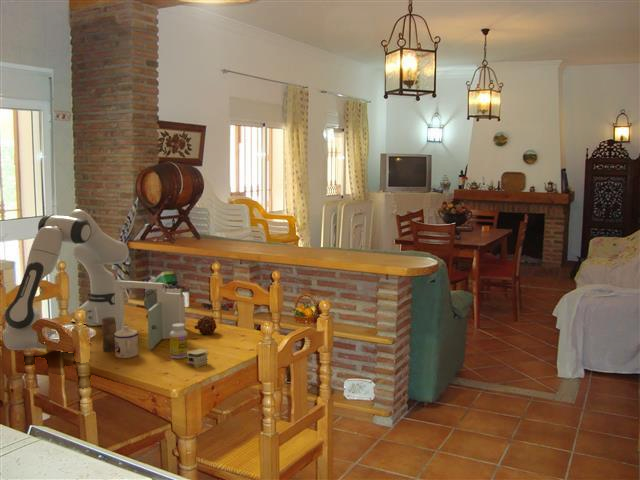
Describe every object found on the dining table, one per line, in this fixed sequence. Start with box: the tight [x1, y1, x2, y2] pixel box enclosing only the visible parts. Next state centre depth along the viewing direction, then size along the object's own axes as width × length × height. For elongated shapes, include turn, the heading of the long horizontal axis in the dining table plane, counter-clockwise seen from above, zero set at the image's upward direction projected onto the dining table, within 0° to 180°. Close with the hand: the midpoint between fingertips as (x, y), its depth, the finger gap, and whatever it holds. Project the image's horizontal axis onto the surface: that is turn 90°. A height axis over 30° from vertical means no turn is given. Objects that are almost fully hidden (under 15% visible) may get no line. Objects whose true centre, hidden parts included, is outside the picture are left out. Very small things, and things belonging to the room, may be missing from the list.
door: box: [147, 302, 163, 350], centre depth 259 cm, size 16×3×16 cm, turn 179°
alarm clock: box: [143, 287, 167, 318], centre depth 304 cm, size 12×7×15 cm, turn 110°
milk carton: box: [166, 288, 186, 326], centre depth 281 cm, size 7×7×19 cm
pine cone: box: [193, 315, 217, 336], centre depth 276 cm, size 8×8×12 cm
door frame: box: [114, 279, 182, 340], centre depth 270 cm, size 31×2×24 cm, turn 74°
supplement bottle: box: [169, 323, 189, 360], centre depth 243 cm, size 7×7×13 cm
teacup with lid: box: [114, 325, 139, 359], centre depth 243 cm, size 12×9×12 cm
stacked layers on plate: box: [186, 348, 209, 368], centre depth 234 cm, size 10×9×6 cm
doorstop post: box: [101, 317, 116, 353], centre depth 251 cm, size 5×5×13 cm
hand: (84, 334), depth 249 cm, fingers open, 8 cm apart
